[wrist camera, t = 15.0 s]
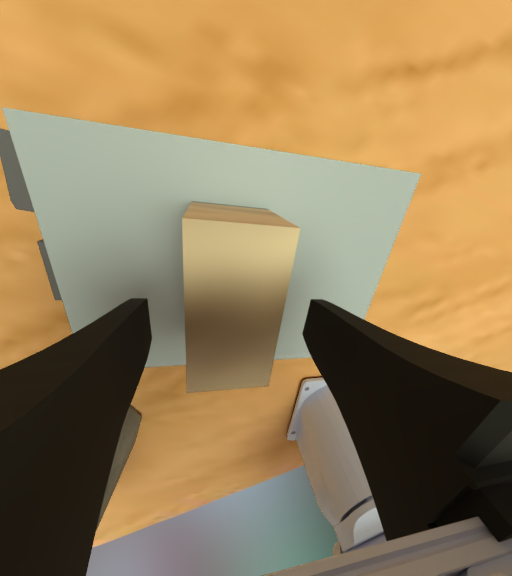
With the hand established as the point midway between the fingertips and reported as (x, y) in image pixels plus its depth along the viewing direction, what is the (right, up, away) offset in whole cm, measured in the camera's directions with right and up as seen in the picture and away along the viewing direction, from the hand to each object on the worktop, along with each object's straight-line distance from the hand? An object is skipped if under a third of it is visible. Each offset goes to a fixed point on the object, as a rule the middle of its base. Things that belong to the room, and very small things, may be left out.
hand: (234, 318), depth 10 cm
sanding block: (-1, +2, +4) cm, 4 cm away
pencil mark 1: (-11, +7, +1) cm, 13 cm away
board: (0, +3, +5) cm, 6 cm away
